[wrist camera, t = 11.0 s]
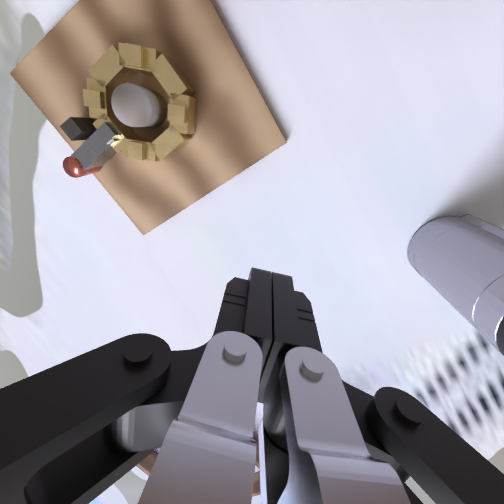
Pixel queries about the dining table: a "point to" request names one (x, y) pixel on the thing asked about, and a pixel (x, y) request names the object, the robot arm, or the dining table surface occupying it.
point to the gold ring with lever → (112, 129)
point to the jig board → (202, 68)
